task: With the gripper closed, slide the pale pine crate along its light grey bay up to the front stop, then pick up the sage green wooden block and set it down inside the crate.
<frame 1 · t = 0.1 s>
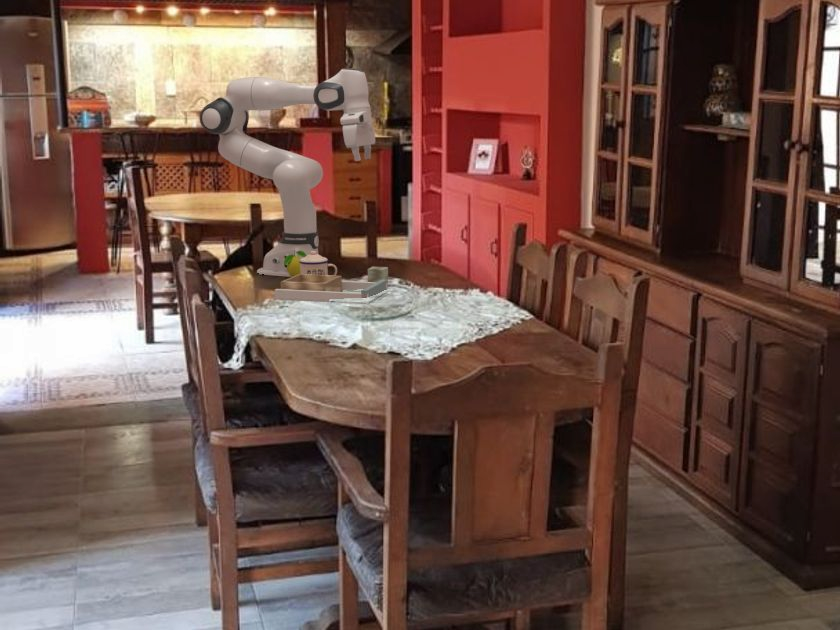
hand: (362, 160, 357), 39 cm above the table, tool pointing down, fingers open, 8 cm apart
block: (378, 290, 339), on the table
teacup with lid: (319, 287, 344), on the table
lemon: (296, 278, 360), on the table
crate: (311, 286, 325), point 4 cm above the table, slide at 0.0 cm
bay: (332, 299, 324), on the table
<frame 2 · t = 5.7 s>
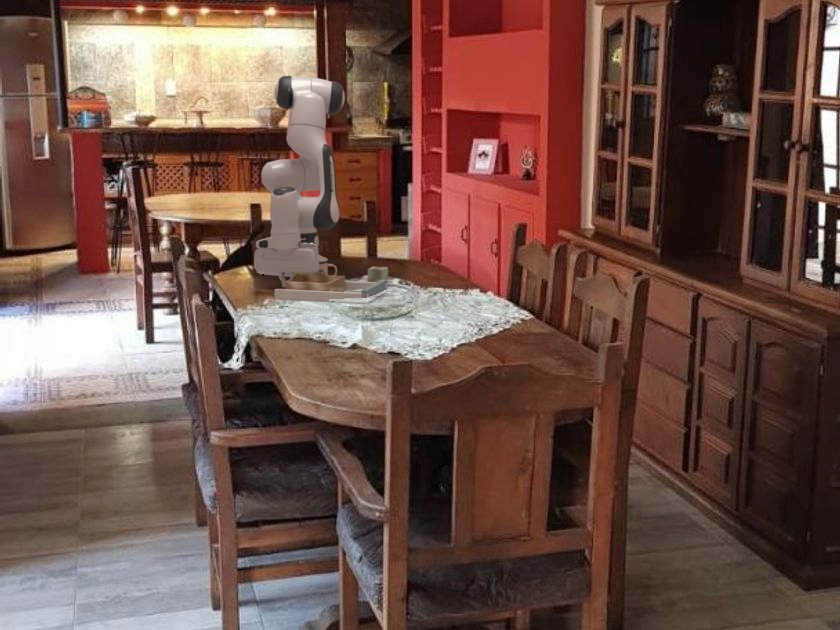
hand: (287, 287, 327), 3 cm above the table, tool pointing down, fingers closed
crate: (315, 286, 325), point 4 cm above the table, slide at 1.2 cm, touching gripper
everything else where it was.
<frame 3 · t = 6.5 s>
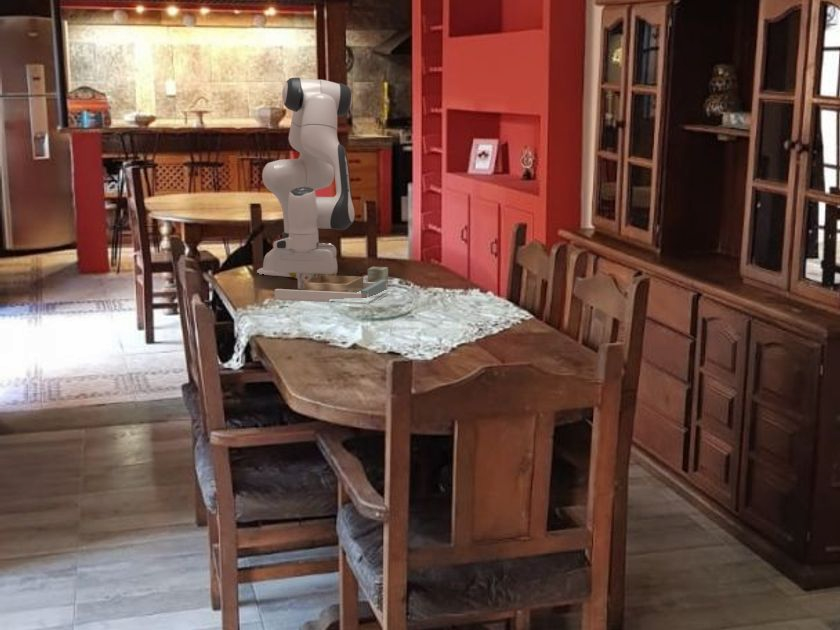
hand: (305, 287, 326), 3 cm above the table, tool pointing down, fingers closed
crate: (333, 287, 323), point 4 cm above the table, slide at 7.1 cm, touching gripper
everything else where it was.
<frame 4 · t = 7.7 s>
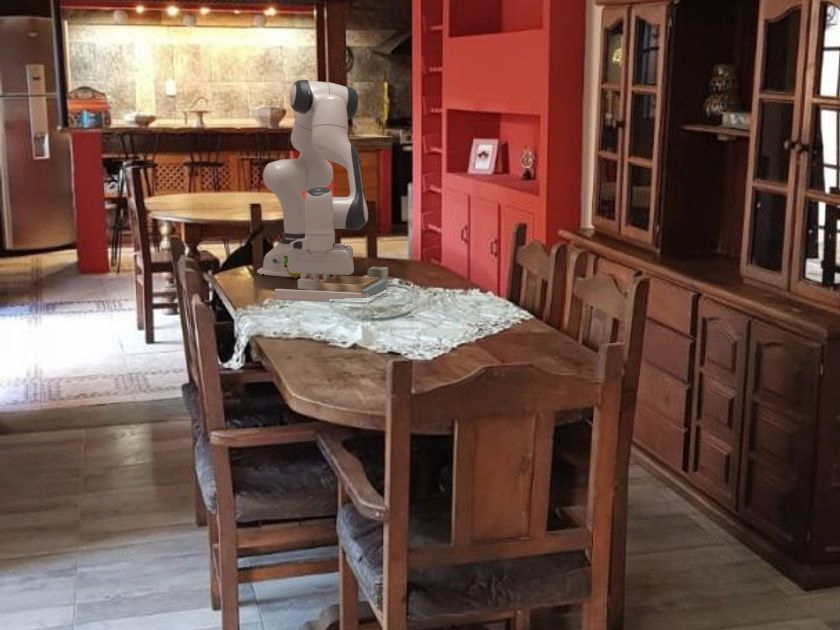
hand: (321, 288, 324), 3 cm above the table, tool pointing down, fingers closed
crate: (349, 288, 322), point 4 cm above the table, slide at 12.1 cm, touching gripper
everything else where it was.
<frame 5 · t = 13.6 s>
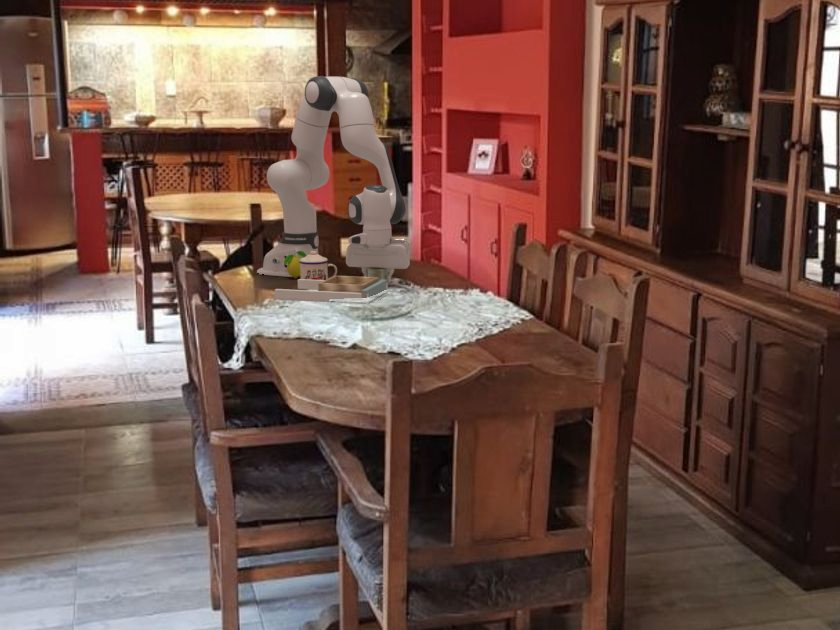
hand: (378, 281, 338), 3 cm above the table, tool pointing down, fingers closed on block, 5 cm apart
block: (378, 289, 339), on the table, touching gripper
crate: (349, 288, 322), point 4 cm above the table, slide at 12.0 cm
everything else where it was.
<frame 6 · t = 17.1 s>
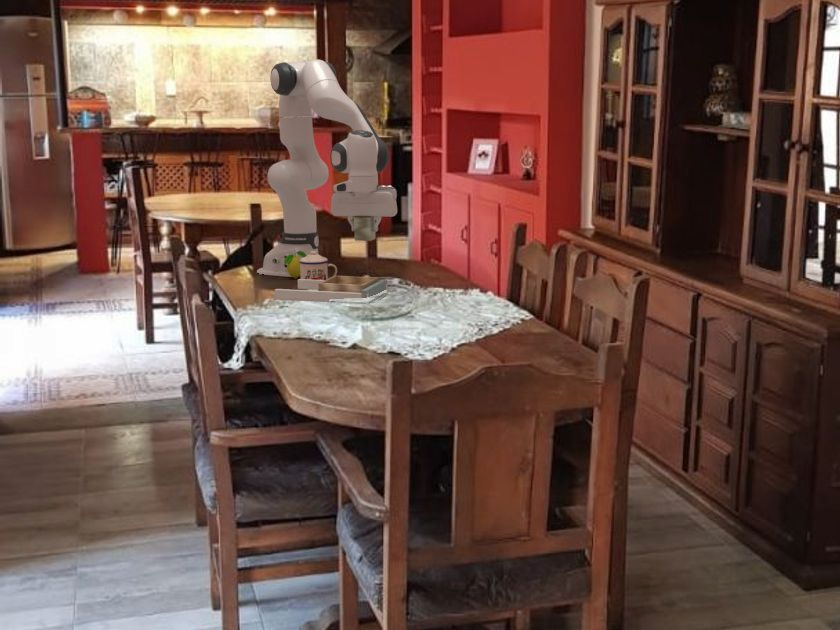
hand: (364, 231, 327), 20 cm above the table, tool pointing down, fingers closed on block, 5 cm apart
block: (365, 239, 327), point 17 cm above the table, touching gripper
everything else where it was.
when the fingers open (6 cm above the table, at t = 20.8 s): block drops 1 cm, resting on crate.
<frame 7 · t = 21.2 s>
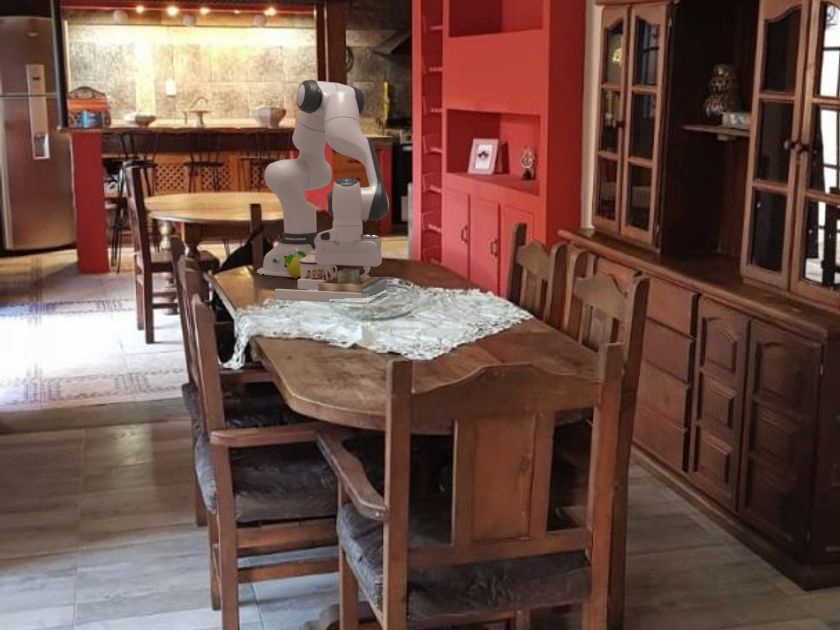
hand: (348, 280, 321), 6 cm above the table, tool pointing down, fingers open, 8 cm apart
block: (349, 293, 322), point 2 cm above the table, touching crate
crate: (349, 288, 322), point 4 cm above the table, slide at 12.0 cm, touching block
everything else where it was.
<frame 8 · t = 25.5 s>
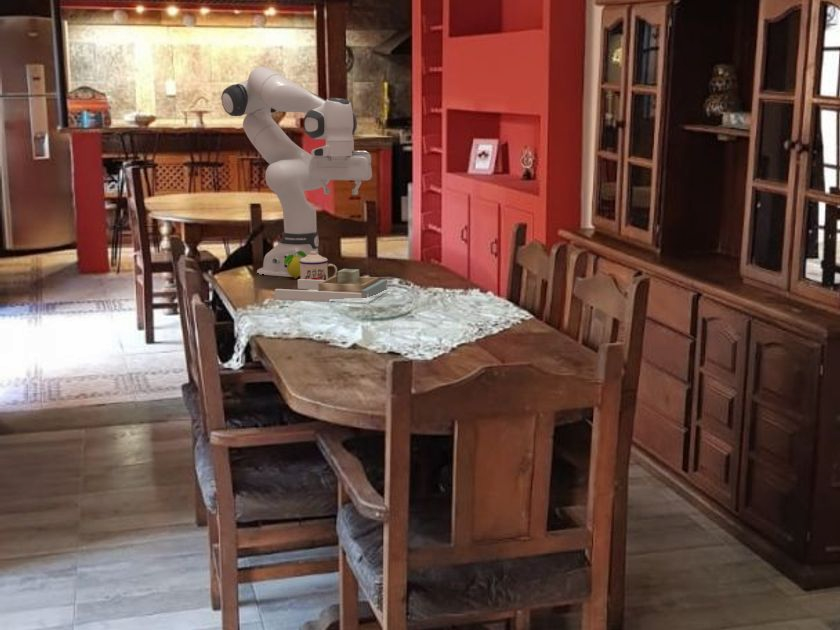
hand: (341, 194, 342), 29 cm above the table, tool pointing down, fingers open, 8 cm apart
nothing on the table moved.
at the end: crate slide at 12.0 cm; block inside the target area (0.1 cm from its centre), point 2.0 cm above the table; the gripper is holding nothing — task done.
